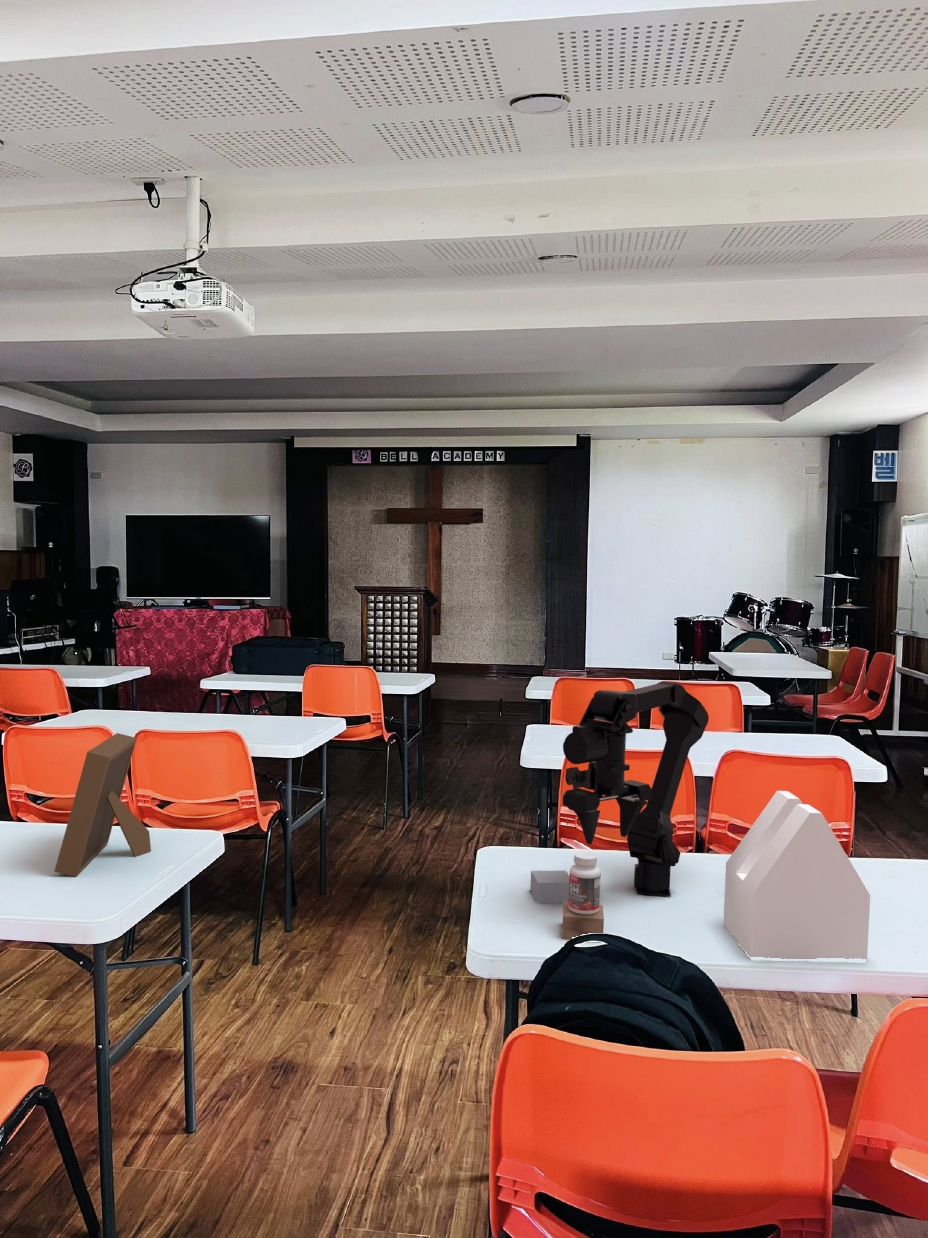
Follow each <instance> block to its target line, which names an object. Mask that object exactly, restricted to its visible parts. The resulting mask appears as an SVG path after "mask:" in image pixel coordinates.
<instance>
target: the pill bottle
mask: <svg viewBox="0 0 928 1238" xmlns="http://www.w3.org/2000/svg"><path fill="white" fill-rule="evenodd" d="M573 856H574V858H573V863H574V864H573V865H572V866H571V867H570V869H569V876H570V878H569V905H568V906H569V909H570V910H571V911H572V912H574V913H577V914H584V915H590V914H595V913H597V912H598V911H599V905H600V899H601V896H600V894H601V874H602V873H601V869H600V868H599V867H598V866H597V864H598V856H597V855H596V854H595V853H592V852H590V851H589V852H587V851H578V852H576V853H574V855H573Z"/></svg>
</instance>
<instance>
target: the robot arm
mask: <svg viewBox="0 0 928 1238" xmlns="http://www.w3.org/2000/svg"><path fill="white" fill-rule="evenodd" d="M655 708H657V709H658V712H659V713H660V715H662V717H663V721H662V728H663V732H664V736H665V743H664V746H663V750H662V753H661V756H660V760H659V763H658V766H657V770H656V773H655V776H654V779H653V782H652V786H651V785H650V784H648V783H645V782H641V781H638V780H633V779H629V780H625V772H626V771H627V772H628V771H630V764H627V763H626V748H627V747H626V744H627V743H626V741H627V735H628V734H632V733H634V730H633V728H632V727H631V726H630V725H629V724H628V723H629V722H631V721H633V720H634V719H636V718H637V714H640V713H641V712H644V711H648V710H651V709H655ZM709 717H710V716H709V712H708V711H707V710H706V708H705V706H704V705H703V703H702V702H701V701H700V700H699V699H697V698H696V697H695V696H694V695H692V694H691V693H689V692H688V691H686V689H685V687H684V686H683V684H680V683H678V682H670V681H659V682H657V683H655V684H651V685H647V686H642V687H639V688H635V689H634V688H633V689H631V690H626V691H623V690H622V691H621V690H611V689H599V690H597V691H595V693H593V696H592V698H591V699H590V702H589V703H588V705H587V707H586V710H585V711H584V713H583V715H582V718H581V719H580V721H579V724H578V725H574V726H572V732H571V733H569V734H568V735H566V737H565V739H564V741H563V743H562V751H563V755H564V756H565V758H566V759H567V761H568V762H570V764H573V765H582V764H587V763H588V765H587V769H584V770H580V769H579V767H578V766H573V767H569V768H568V767H567V768H565V774H564V775H565V776H564V778H565V783H566V785H567V786H572V789H567V790H565V791H564V793H563V794H562V806H565V807H567V808H568V810H570V811H573V812H574V814H575V815H576V816H577V818H578V822H579V824H580V827H581V829H582V832H583V836H584V840H585V842H586V844H587V845H592V844H593V842H594V839H595V836H596V831H597V826H598V821H599V818H600V814H601V810H599V809H598V808H599V806H600V804H601V803H600V802H604V801H611V800H616V802H617V805H618V806H619V833H620V836H621V837H622V838H626V841H627V842H626V843H627V845H628V846H627V847H628V851H629V857H631V858H635V859H637V863H635V864H634V872H633V873H634V875H633V886H634V888H635V889H636V894H638V895H646V896H647V895H648V896H661V897H671V896H672V895H671V894H672V892H671V890H670V889H671V886H670V885H671V867H676V865H677V864H678V863H680V862H679V861H680V857H681V851H680V849H679V848H678V846H677V845H676V844H675V842H674V841H673V837H674V828H673V827H674V826H673V823H672V819H671V813H672V810H673V806H674V803H675V800H676V797H677V793H678V790H679V786H680V783H681V780H682V776H683V773H684V770H685V766H686V763H687V759H688V756H689V753H690V750H691V748H692V747H693V746H694V745H695V744H696V743H698V742H699V741H700V740H701V739H702V737H703V735H704V733H705V731H706V729H707V728H706V727H707V725H708V724H709ZM591 790H592V791H591Z"/></svg>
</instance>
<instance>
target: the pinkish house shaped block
mask: <svg viewBox="0 0 928 1238" xmlns="http://www.w3.org/2000/svg"><path fill="white" fill-rule="evenodd" d="M751 825H752V826H750V828H749V830H748V831H747V832H746V833H745V835H744V836H743V838H742V840H741V841H740V842H739V844H738V845H737V847H736V848H735V850H733V852H732V854H731V855H730V856H729V858H728V859H727V861H726V862H725V875H724V876H725V878H724V880H725V881H724V899H723V900H724V902H723V903H724V904H723V923H722V925H723V924H724V925H725V926H724V925H723V926H724V928H725V927H726V928H727V929H728V930H729V932H730V933H731V934H732V935H731V934H730V933H729V932H728V933H729V934H730V935H731V937H732V936H733V937H734V938H735V939H736V940H737V942H738V943H739V944H740V945H741V947H742V948H743V949H744V950H745V951H746V952H747V954H748V955H749V956H750V957H763V958H764V957H765V958H768V957H769V958H781V959H785V958H786V959H816V958H817V959H818V958H827V959H828V958H845V959H850V958H851V959H852V958H853V959H855V958H856V959H857V958H859V959H860V958H861V959H867V960H868V950H869V949H868V947H869V932H870V931H869V928H870V912H871V910H870V908H871V907H870V905H871V894H870V892H869V890H868V889H867V888H866V885H865V884H864V882H863V881H862V879H861V877H860V876H859V874H858V872H857V870H856V868H855V867H854V865H853V863H852V862H851V861H850V859H849V857H848V855H847V853H846V852H845V850H844V848H843V847H842V844H841V843H840V842H839V840H838V838H837V836H836V834H835V833H834V831H833V830H832V827H830V825H829V822H828V820H826V817H825V816H824V814H823V813H822V812H821V811H819V810H818V809H816V808H814V807H813V806H812V805H810V804H807V803H805V804H804V803H803V802H802V801H801V799H800V798H799V797H797V795H795V794H793V793H792V792H790V791H788V790H776V792H775V793H774V795H773V796H772V797H771V799H770V800H769V801H768V803H767V804H766V806H765V807H764V808H763V809H762V811H761V812H760V814H759V815H758V817H757V818H756V820H755V821H754V822H753V824H751ZM726 928H725V929H726ZM727 929H726V930H727ZM728 930H727V931H728ZM733 937H732V938H733ZM734 938H733V939H734ZM735 939H734V940H735ZM737 942H736V943H737ZM738 943H737V944H738ZM741 947H740V948H741ZM742 948H741V949H742Z"/></svg>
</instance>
